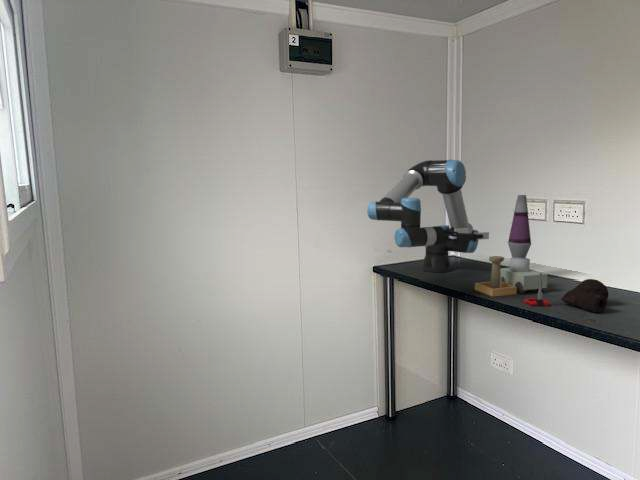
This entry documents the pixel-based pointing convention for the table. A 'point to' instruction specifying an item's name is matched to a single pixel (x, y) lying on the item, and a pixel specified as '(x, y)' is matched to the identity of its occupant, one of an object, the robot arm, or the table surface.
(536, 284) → the grey and tan pieces
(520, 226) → the lamp
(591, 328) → the table surface
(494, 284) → the handle
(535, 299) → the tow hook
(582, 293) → the dark brown irregular lump
